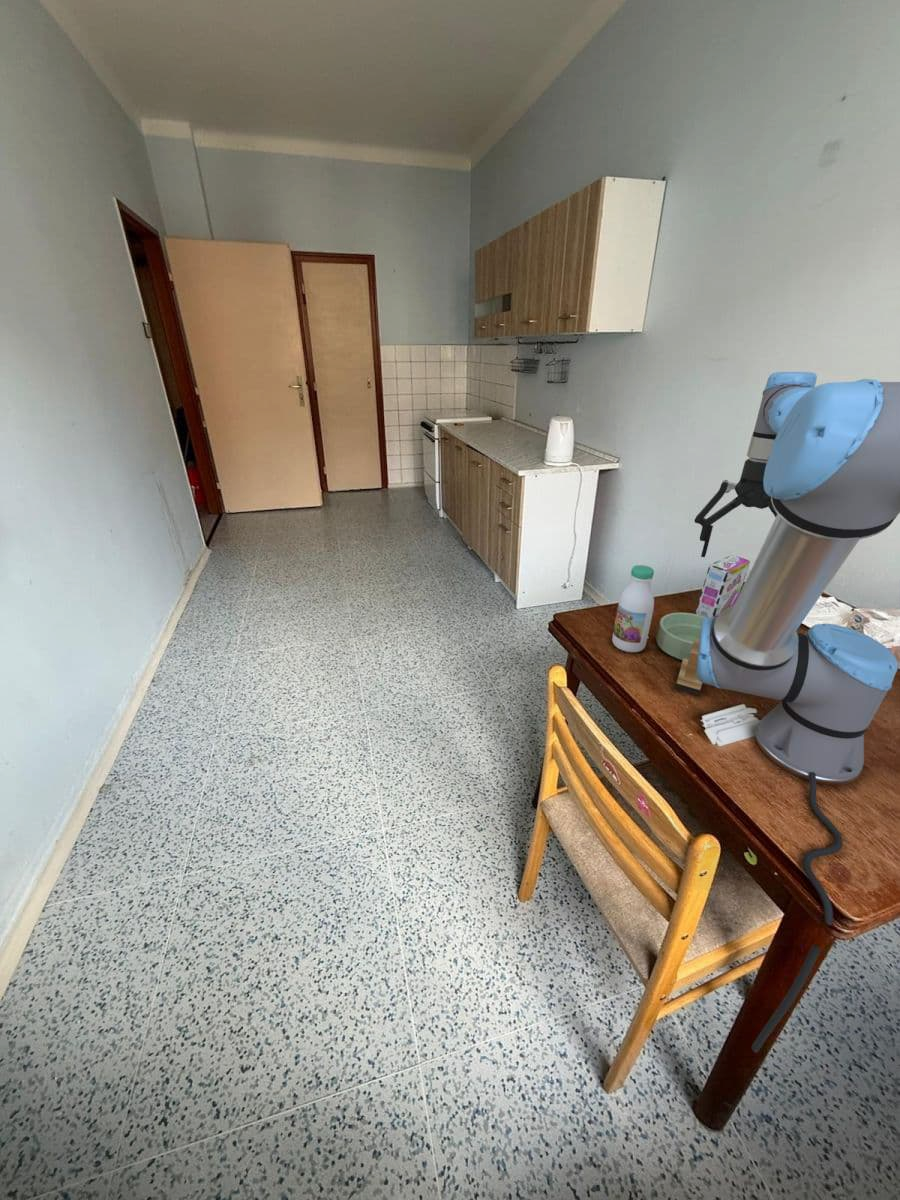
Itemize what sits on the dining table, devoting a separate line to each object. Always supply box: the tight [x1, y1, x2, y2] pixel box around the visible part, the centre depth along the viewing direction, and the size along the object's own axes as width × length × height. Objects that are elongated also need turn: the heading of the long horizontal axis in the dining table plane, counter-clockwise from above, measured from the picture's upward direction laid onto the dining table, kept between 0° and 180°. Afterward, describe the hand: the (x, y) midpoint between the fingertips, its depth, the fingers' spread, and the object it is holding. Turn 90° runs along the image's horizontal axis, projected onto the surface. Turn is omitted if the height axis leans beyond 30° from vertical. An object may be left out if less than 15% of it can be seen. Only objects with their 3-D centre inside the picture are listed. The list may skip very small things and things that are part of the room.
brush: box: [674, 639, 703, 697], centre depth 98 cm, size 8×4×9 cm, turn 149°
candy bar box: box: [694, 554, 751, 618], centre depth 119 cm, size 11×5×16 cm, turn 126°
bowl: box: [655, 612, 706, 661], centre depth 111 cm, size 14×14×6 cm
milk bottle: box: [611, 564, 655, 653], centre depth 109 cm, size 8×8×20 cm
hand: (738, 561), depth 101 cm, fingers open, 13 cm apart
